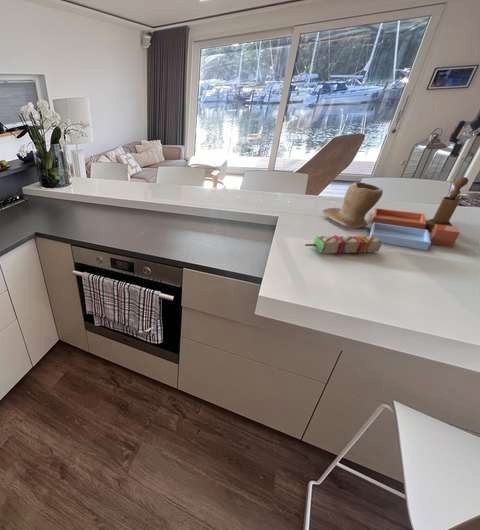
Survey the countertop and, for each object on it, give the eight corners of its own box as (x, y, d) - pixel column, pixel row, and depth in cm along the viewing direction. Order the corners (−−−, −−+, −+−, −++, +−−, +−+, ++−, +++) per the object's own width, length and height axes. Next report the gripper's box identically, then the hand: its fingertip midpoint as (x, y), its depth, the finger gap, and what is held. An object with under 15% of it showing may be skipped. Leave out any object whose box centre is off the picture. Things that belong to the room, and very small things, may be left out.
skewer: (366, 246, 94) (372, 232, 91) (380, 255, 88) (386, 240, 85) (299, 247, 96) (302, 233, 94) (307, 256, 91) (311, 242, 88)
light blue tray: (424, 237, 96) (428, 230, 95) (427, 250, 89) (431, 242, 87) (370, 228, 104) (373, 222, 103) (369, 240, 97) (371, 233, 95)
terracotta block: (449, 241, 93) (457, 226, 90) (451, 247, 89) (460, 232, 87) (428, 237, 95) (435, 223, 93) (429, 243, 92) (437, 229, 90)
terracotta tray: (421, 220, 107) (424, 213, 106) (423, 231, 100) (426, 224, 98) (372, 214, 115) (375, 208, 114) (371, 223, 108) (373, 217, 106)
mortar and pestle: (418, 227, 102) (443, 176, 93) (429, 224, 104) (455, 173, 95) (442, 234, 97) (471, 181, 87) (453, 230, 98) (483, 177, 89)
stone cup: (377, 229, 104) (394, 187, 96) (343, 230, 104) (357, 190, 97) (349, 214, 117) (362, 177, 109) (319, 216, 117) (330, 179, 110)
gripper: (471, 99, 81) (442, 158, 90) (552, 95, 73) (513, 161, 82) (466, 97, 86) (439, 154, 94) (542, 94, 78) (506, 156, 86)
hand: (473, 157), depth 88 cm, fingers open, 8 cm apart
